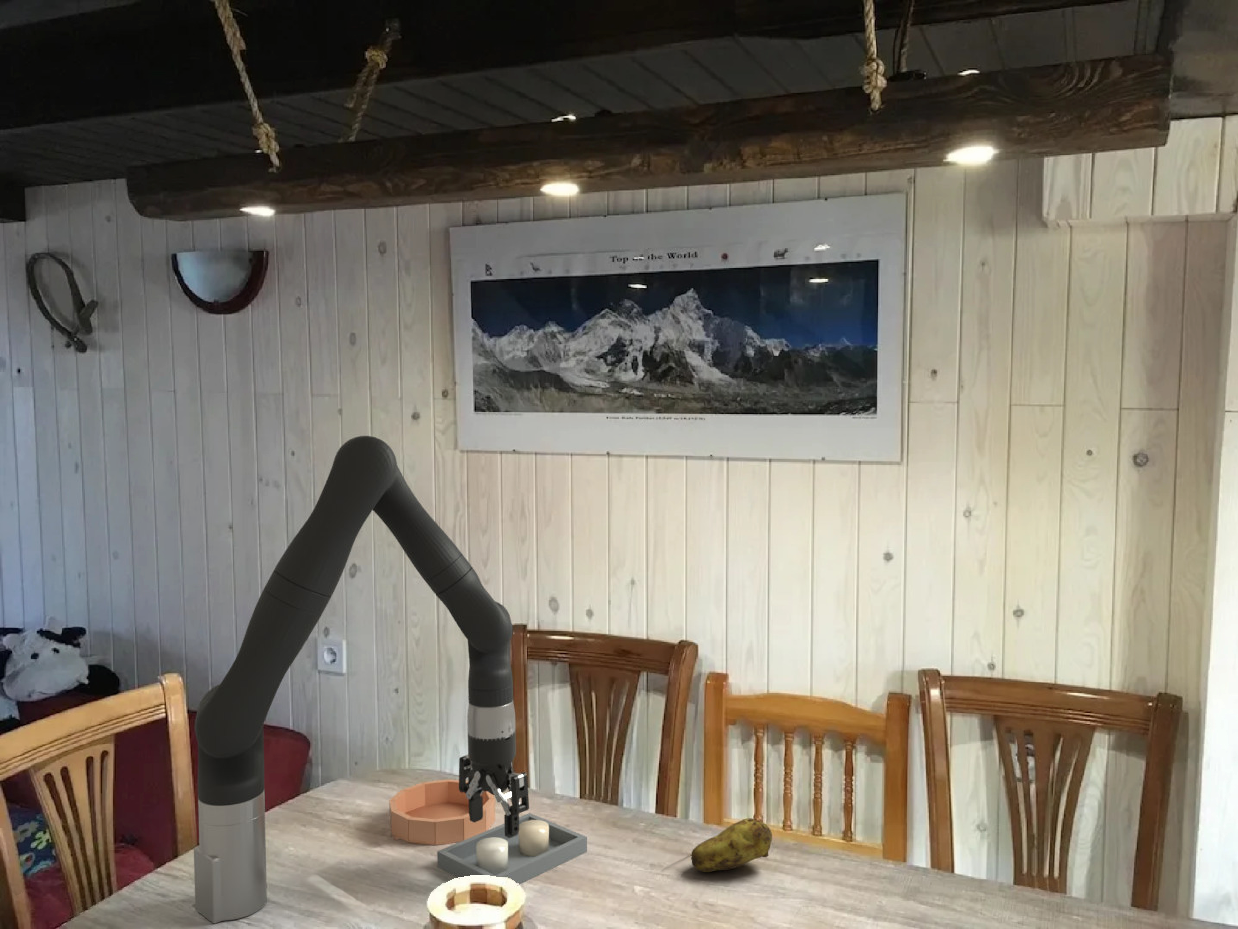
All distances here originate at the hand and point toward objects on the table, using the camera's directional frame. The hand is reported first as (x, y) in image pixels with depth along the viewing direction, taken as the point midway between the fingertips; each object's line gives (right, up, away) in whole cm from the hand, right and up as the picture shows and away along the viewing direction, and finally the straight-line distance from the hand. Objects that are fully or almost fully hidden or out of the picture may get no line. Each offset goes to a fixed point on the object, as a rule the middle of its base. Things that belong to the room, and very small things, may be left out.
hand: (493, 828), depth 159 cm
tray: (+3, -7, +4) cm, 9 cm away
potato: (+38, -8, +2) cm, 39 cm away
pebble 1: (0, -7, 0) cm, 7 cm away
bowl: (-11, -6, +18) cm, 22 cm away
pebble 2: (+6, -6, +7) cm, 11 cm away
